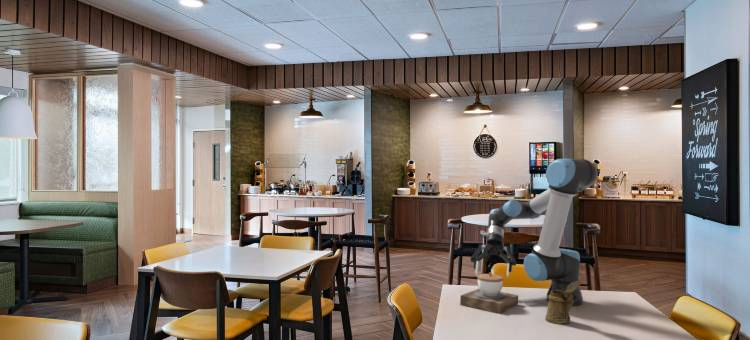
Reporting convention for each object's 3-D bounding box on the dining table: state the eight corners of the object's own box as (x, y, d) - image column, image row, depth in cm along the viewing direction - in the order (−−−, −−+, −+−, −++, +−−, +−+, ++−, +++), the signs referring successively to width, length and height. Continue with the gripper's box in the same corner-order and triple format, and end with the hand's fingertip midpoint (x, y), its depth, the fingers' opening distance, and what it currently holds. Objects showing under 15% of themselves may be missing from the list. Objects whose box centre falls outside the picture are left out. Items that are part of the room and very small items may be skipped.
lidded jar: (476, 296, 213) (477, 274, 213) (477, 290, 224) (477, 269, 224) (502, 298, 211) (503, 276, 211) (502, 292, 221) (502, 271, 221)
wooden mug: (568, 329, 187) (569, 280, 187) (540, 318, 199) (541, 273, 198) (584, 326, 191) (586, 278, 191) (556, 316, 203) (557, 271, 203)
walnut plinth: (518, 304, 219) (518, 294, 219) (499, 313, 205) (499, 302, 205) (480, 296, 230) (480, 287, 230) (460, 304, 216) (460, 294, 216)
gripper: (522, 244, 239) (520, 283, 225) (469, 240, 246) (464, 278, 232) (522, 234, 234) (520, 273, 220) (467, 231, 241) (462, 268, 227)
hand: (491, 276), depth 226 cm, fingers open, 13 cm apart
